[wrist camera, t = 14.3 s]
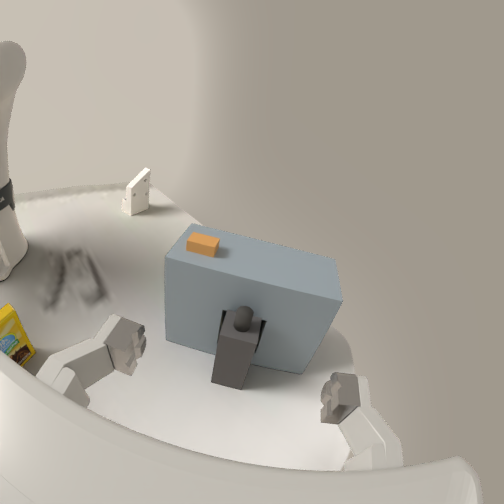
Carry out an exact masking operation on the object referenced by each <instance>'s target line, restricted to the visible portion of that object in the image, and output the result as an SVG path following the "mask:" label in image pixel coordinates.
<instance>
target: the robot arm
mask: <svg viewBox="0 0 504 504" xmlns="http://www.w3.org/2000/svg"><path fill="white" fill-rule="evenodd" d="M25 68H26V56H25V53H24V51H23V49H22V48H21V46H20V45H18V44H17V43H14V42H12V41H3V42H0V281H2V280H4V279H6V278H7V277H8V276H9V274H10V272H11V270H12V268H13V267H14V266H15V265H16V264H17V263H18V262H19V261H20V260H21V259H22V258H23V257H24V255H25V254H26V252H27V249H28V243H27V241H26V239H25V237H24V235H23V233H22V231H21V228H20V226H19V223H18V220H17V217H16V213H15V209H14V208H15V200H14V192H13V185H12V182H11V179H10V178H9V170H8V154H7V136H8V128H9V122H10V117H11V112H12V107H13V102H14V98H15V94H16V91H17V88H18V86H19V85H20V83H21V81H22V79H23V76H24V73H25ZM144 332H145V328H144V326H143V325H141V324H138V323H136V322H133V321H131V320H128V319H125V318H123V317H121V316H118V315H115V314H112V315H110V316H109V318H108V319H107V320H106V322H105V323H104V325H103V326H102V327H101V329H100V330H99V332H98V333H97V334H96V336H95V337H94V339H92V338H89V339H87V340H85V341H82V342H80V343H78V344H76V345H73V346H71V347H69V348H66V349H64V350H62V351H60V352H57V353H55V354H53V355H50V356H49V357H48V359H47V360H46V362H45V363H44V364H43V366H42V367H41V369H40V370H39V372H38V373H37V375H36V376H33V375H32V374H31V373H29V372H28V371H26V370H25V369H24V368H22V367H21V366H20V365H18V364H17V363H16V362H15V361H13V360H12V359H11V358H10V357H8V356H7V355H6V354H5V353H4V352H2V351H1V350H0V504H484V503H483V494H482V488H481V483H480V479H479V476H478V474H477V472H476V471H475V469H474V468H473V467H472V466H471V465H470V464H469V463H468V462H467V461H466V460H465V459H464V458H463V457H461V456H454V457H450V458H446V459H442V460H438V461H433V462H428V463H422V464H417V465H410V466H404V465H403V454H402V445H401V441H400V440H399V439H398V438H397V436H396V435H395V434H394V432H393V431H392V430H391V428H390V427H389V426H388V424H387V423H386V422H385V421H384V419H383V418H382V417H381V416H380V414H379V413H378V412H377V410H376V409H375V408H373V407H372V406H371V399H370V392H369V385H368V379H367V377H366V376H360V375H354V374H345V373H337V372H335V373H333V374H332V375H331V377H330V379H331V380H330V381H328V382H326V383H325V385H324V386H323V389H322V392H321V402H322V404H323V405H324V406H323V408H322V409H321V423H330V424H338V427H339V428H340V430H341V432H342V434H343V436H344V437H345V439H346V441H347V443H348V445H349V447H350V448H351V450H352V452H353V454H354V457H352V458H351V459H349V460H347V461H346V462H344V471H312V470H296V469H285V468H276V467H268V466H261V465H254V464H248V463H243V462H237V461H232V460H228V459H223V458H218V457H214V456H210V455H206V454H202V453H198V452H195V451H191V450H188V449H184V448H181V447H178V446H175V445H172V444H169V443H166V442H163V441H160V440H157V439H154V438H152V437H149V436H146V435H144V434H141V433H139V432H136V431H134V430H131V429H129V428H127V427H124V426H122V425H120V424H118V423H115V422H113V421H111V420H109V419H107V418H105V417H103V416H101V415H99V414H97V413H95V412H93V411H91V410H89V409H87V406H88V404H89V402H90V398H89V396H88V395H87V393H86V391H85V390H84V389H86V388H87V387H89V386H91V385H92V384H94V383H95V382H97V381H99V380H100V379H102V378H103V377H105V376H107V375H108V374H110V373H111V372H113V371H114V369H115V370H117V371H120V372H122V373H125V374H127V375H130V376H132V374H133V372H134V370H135V368H136V366H137V360H136V359H138V358H140V357H142V355H143V353H144V350H145V347H146V337H145V336H144V335H143V334H144Z"/></svg>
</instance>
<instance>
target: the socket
mask: <svg viewBox="0 0 504 504" xmlns="http://www.w3.org/2000/svg"><path fill="white" fill-rule="evenodd" d="M342 302H343V300H342V294H341V288H340V283H339V277H338V272H337V267H336V262H335V259H332V258H328V257H325V256H320V255H317V254H313V253H309V252H305V251H301V250H297V249H293V248H289V247H286V246H282V245H278V244H274V243H270V242H266V241H262V240H257V239H253V238H250V237H246V236H242V235H237V234H234V233H229V232H225V231H221V230H217V229H213V228H209V227H205V226H201V225H197V224H191V225H190V226H189V227H188V229H187V230H186V231H185V232H184V233H183V235H182V236H181V237H180V238H179V240H178V241H177V242H176V243H175V245H174V246H173V247H172V248H171V250H170V251H169V252H168V253H167V255H166V256H165V329H166V340H168V341H171V342H174V343H177V344H180V345H183V346H187V347H190V348H193V349H197V350H200V351H203V352H207V353H211V354H214V355H216V350H217V344H218V339H219V334H220V331H221V328H222V325H223V322H224V319H225V316H226V312H227V309H228V310H232V311H235V312H236V311H237V308H238V307H240V306H248V307H250V308H251V309H252V310H253V312H254V314H253V316H255V317H260V318H262V320H261V326H260V331H259V337H258V342H257V346H256V349H255V352H254V355H253V358H252V360H251V363H250V364H254V365H258V366H262V367H267V368H272V369H277V370H281V371H287V372H292V373H297V374H302V373H303V371H304V370H305V368H306V367H307V365H308V363H309V362H310V360H311V358H312V357H313V355H314V353H315V351H316V350H317V348H318V346H319V345H320V343H321V341H322V339H323V337H324V336H325V334H326V332H327V330H328V328H329V327H330V325H331V323H332V321H333V319H334V317H335V315H336V314H337V312H338V310H339V308H340V306H341V304H342Z"/></svg>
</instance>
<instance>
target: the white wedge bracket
mask: <svg viewBox="0 0 504 504" xmlns="http://www.w3.org/2000/svg"><path fill="white" fill-rule="evenodd" d="M149 186H150V169H148V168H145V169H144V170H143V171H141V172H140V173H139V174H138V175H137V177H135V178H134V179H133V181H131V182H130V183H129V184H128V185H127V186H126V198H123V199H122V211H123V212H125V213H127V214H129V215H131V216H132V215H134V214H136V213H139V212H141V211H144V210H146V209H149Z"/></svg>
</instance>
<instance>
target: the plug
mask: <svg viewBox="0 0 504 504" xmlns="http://www.w3.org/2000/svg"><path fill="white" fill-rule="evenodd" d="M253 314H254V312H253V310H252V309H251V308H250V307H248V306H240V307H238V308H237V311H236V312H235V311H232V310H228V309H227V312H226V316H225V319H224V322H223V325H222V328H221V331H220V334H219V339H218V344H217V350H216V356H215V362H214V368H213V374H212V380H211V382H212V383H215V384H219V385H223V386H227V387H231V388H235V389H239V390H241V389H242V386H243V383H244V380H245V378H246V375H247V372H248V369H249V366H250V363H251V360H252V358H253V355H254V352H255V349H256V346H257V342H258V337H259V331H260V326H261V320H262V318H260V317H255V316H253Z"/></svg>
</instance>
